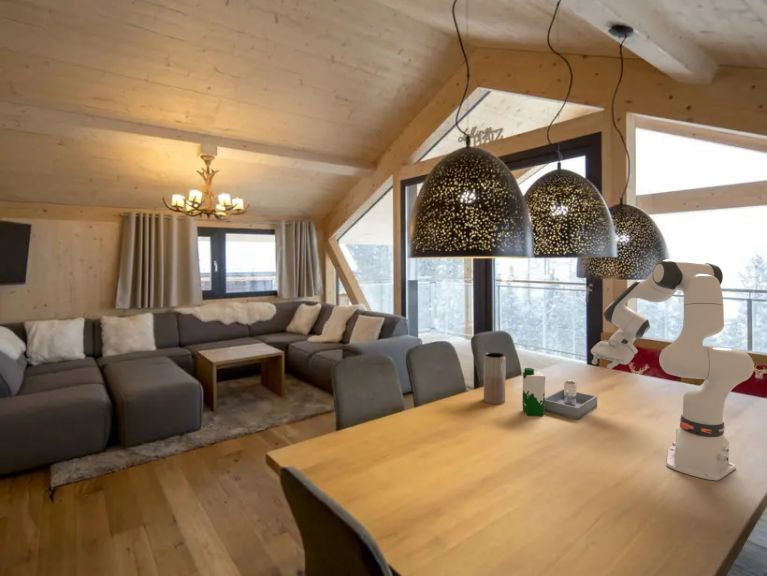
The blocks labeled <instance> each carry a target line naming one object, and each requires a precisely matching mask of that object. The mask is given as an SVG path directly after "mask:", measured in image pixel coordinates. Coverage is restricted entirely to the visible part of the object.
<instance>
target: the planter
mask: <svg viewBox="0 0 767 576" xmlns="http://www.w3.org/2000/svg"><path fill="white" fill-rule="evenodd" d="M506 362H507V361H506V354H505V353H502V352H501V353H500V352H486V353H484V354H483V401H484V402H485V403H487V404H490V405H502V404H504V403H505V402H506Z"/></svg>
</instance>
